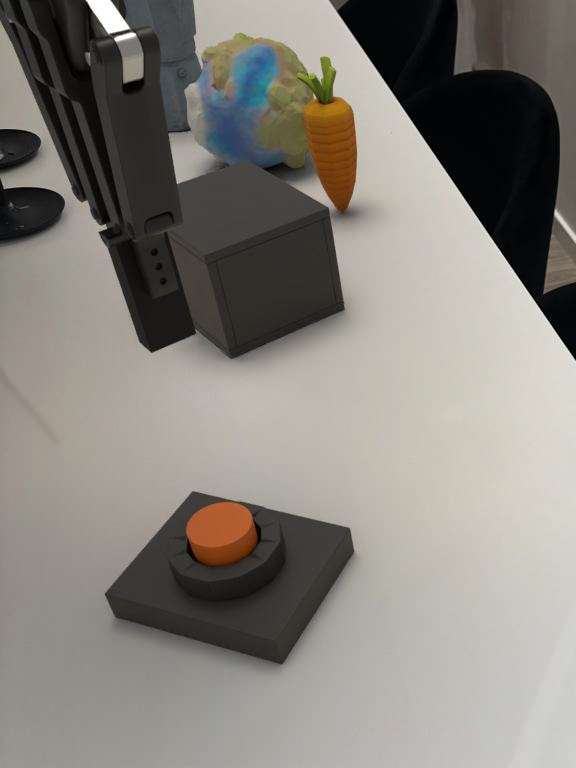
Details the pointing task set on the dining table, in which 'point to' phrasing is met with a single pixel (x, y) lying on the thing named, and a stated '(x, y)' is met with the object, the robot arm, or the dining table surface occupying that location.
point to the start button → (222, 534)
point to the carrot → (331, 136)
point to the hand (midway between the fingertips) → (167, 337)
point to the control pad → (235, 582)
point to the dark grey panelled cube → (253, 257)
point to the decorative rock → (250, 103)
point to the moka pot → (171, 51)
